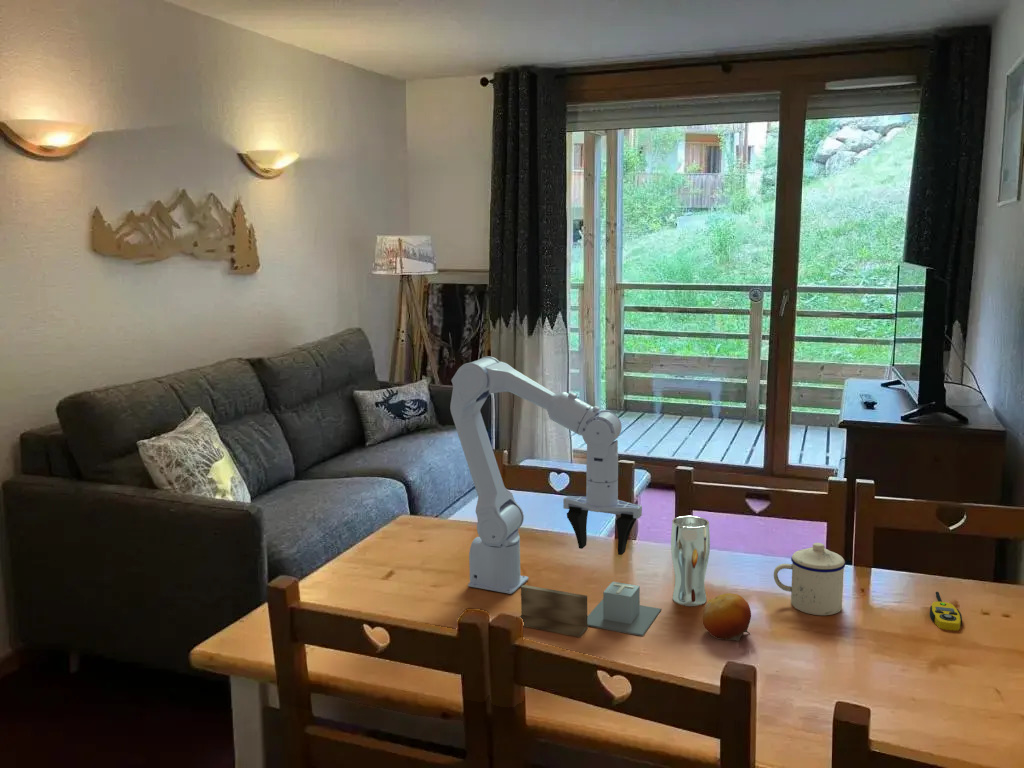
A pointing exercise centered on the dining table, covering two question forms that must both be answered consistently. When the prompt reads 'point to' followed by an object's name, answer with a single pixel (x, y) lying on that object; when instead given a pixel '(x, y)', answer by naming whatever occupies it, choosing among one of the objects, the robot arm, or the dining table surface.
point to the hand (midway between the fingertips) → (601, 549)
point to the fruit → (727, 616)
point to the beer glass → (690, 559)
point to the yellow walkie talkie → (945, 615)
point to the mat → (635, 627)
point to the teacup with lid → (815, 580)
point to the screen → (554, 610)
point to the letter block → (621, 602)
